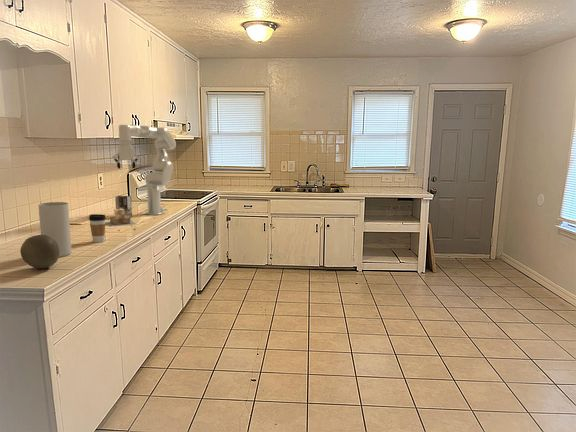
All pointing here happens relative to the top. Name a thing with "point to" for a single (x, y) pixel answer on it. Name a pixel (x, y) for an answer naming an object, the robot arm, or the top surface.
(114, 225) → the board
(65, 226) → the cylinder vase
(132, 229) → the top surface
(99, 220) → the coffee cup
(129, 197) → the coffee box
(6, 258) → the top surface
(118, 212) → the oak cube
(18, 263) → the top surface
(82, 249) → the top surface
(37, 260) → the cantaloupe
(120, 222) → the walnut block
